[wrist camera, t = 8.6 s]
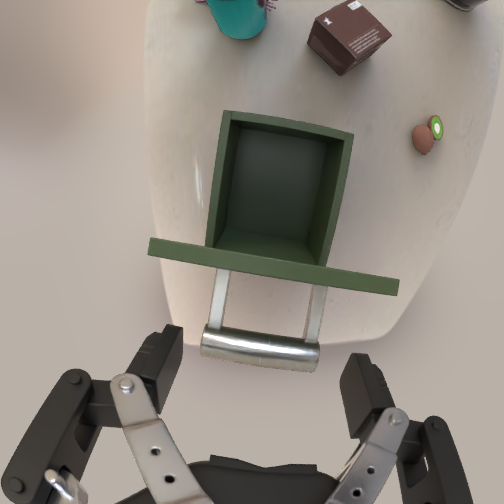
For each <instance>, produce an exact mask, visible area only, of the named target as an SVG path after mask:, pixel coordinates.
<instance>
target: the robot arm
mask: <svg viewBox="0 0 504 504" xmlns="http://www.w3.org/2000/svg"><path fill="white" fill-rule="evenodd" d="M446 1H447V2H448V3H449V4H451V5H452V6H454V7H456V8H458V9H460V10H463V11H470V10H472V9H473V8H474V7H476V6H478V5H479V4H482V3H483V2H485V1H487V0H446ZM182 354H183V327H179V326H174V325H170V324H167V325H166V326H165V328H164V330H163V332H162V333H157V332H154V333H152V334H151V335H149V336H148V337H147V338H146V339H145V341H144V342H143V344H142V346H141V347H140V349H139V351H138V352H137V354H136V355H135V357H134V359H133V360H132V362H131V364H130V365H129V367H128V369H127V370H126V372H125V373H123V374H119V375H117V376H115V377H114V378H113V379H112V380H110V381H103V380H92V379H91V377H90V375H89V374H88V373H87V372H86V371H84V370H81V369H71V370H68V371H66V372H65V373H64V374H63V375H62V376H61V378H60V379H59V381H58V382H57V383H56V385H55V386H54V388H53V389H52V391H51V393H50V394H49V396H48V397H47V399H46V400H45V402H44V403H43V405H42V407H41V408H40V410H39V411H38V413H37V415H36V416H35V418H34V420H33V421H32V423H31V424H30V426H29V428H28V430H27V431H26V433H25V435H24V436H23V438H22V440H21V442H20V443H19V445H18V447H17V449H16V451H15V452H14V454H13V456H12V458H11V460H10V462H9V464H8V466H7V468H6V470H5V472H4V474H3V476H2V478H1V487H2V490H3V492H4V494H5V496H6V497H7V498H8V499H9V500H10V501H12V502H14V503H15V504H87V503H88V494H87V491H86V490H85V488H84V487H83V486H82V485H81V484H80V480H81V477H82V475H83V472H84V470H85V467H86V465H87V462H88V460H89V457H90V455H91V453H92V450H93V448H94V445H95V443H96V441H97V438H98V436H99V434H100V431H101V429H102V427H103V426H104V427H105V426H106V427H117V428H123V431H124V434H125V437H126V439H127V442H128V444H129V447H130V449H131V452H132V454H133V457H134V459H135V462H136V464H137V466H138V468H139V471H140V473H141V475H142V477H143V480H144V482H145V483H146V486H147V487H146V488H145V489H142V490H141V491H139V492H137V493H135V494H133V495H131V496H130V497H128V498H125V499H124V500H122V501H119V502H117V503H115V504H373V503H374V502H375V500H376V498H377V496H378V495H379V493H380V492H381V490H382V488H383V486H384V484H385V482H386V481H387V479H388V477H389V475H390V473H391V471H392V469H393V467H394V465H395V463H396V467H397V472H398V477H399V482H400V488H401V494H402V501H403V504H473V500H472V497H471V493H470V489H469V486H468V482H467V479H466V476H465V473H464V470H463V466H462V463H461V461H460V458H459V455H458V452H457V449H456V446H455V444H454V441H453V438H452V436H451V433H450V430H449V428H448V425H447V423H446V422H445V421H444V420H443V419H442V418H440V417H438V416H430V417H428V418H427V419H426V420H425V421H424V422H418V421H413V420H409V418H408V416H407V414H406V413H405V412H404V411H403V410H401V409H399V408H396V407H395V404H394V401H393V399H392V397H391V393H390V391H389V388H388V387H387V383H386V381H385V378H384V376H383V373H382V371H381V370H380V369H379V368H378V367H377V366H376V365H375V364H372V363H371V361H370V358H369V356H368V354H362V353H352V354H351V355H350V358H349V360H348V362H347V364H346V366H345V369H344V371H343V372H342V375H341V378H340V390H341V395H342V399H343V404H344V407H345V413H346V418H347V422H348V428H349V432H350V438H351V439H355V438H356V439H357V438H359V439H360V443H359V444H358V445H357V447H356V448H355V450H354V452H353V453H352V455H351V456H350V457H349V459H348V460H347V462H346V463H345V465H344V466H343V467H342V469H341V470H340V471H339V473H338V474H337V475H336V476H335V477H334V478H333V477H331V476H329V475H327V474H325V473H322V472H319V471H317V465H316V464H315V465H314V464H313V465H312V464H288V465H282V466H275V467H267V468H264V467H260V466H257V465H253V464H251V463H248V462H245V461H241V460H239V459H233V458H228V457H222V456H216V455H211V456H210V461H199V462H194V463H190V464H186V462H185V460H184V459H183V457H182V455H181V453H180V452H179V450H178V448H177V446H176V444H175V442H174V440H173V439H172V437H171V435H170V433H169V431H168V429H167V427H166V425H165V423H164V421H163V420H162V419H160V418H159V417H158V415H157V414H161V412H162V409H163V406H164V404H165V401H166V399H167V396H168V394H169V391H170V389H171V386H172V384H173V381H174V378H175V376H176V374H177V371H178V369H179V366H180V364H181V360H182ZM424 457H426V460H427V464H428V471H427V467H426V464H425V460H424Z"/></svg>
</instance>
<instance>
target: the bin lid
mask: <svg viewBox="0 0 504 504" xmlns="http://www.w3.org/2000/svg"><path fill="white" fill-rule="evenodd" d="M148 255H150V256H156V257H160V258H166V259H171V260H176V261H182V262H187V263H193V264H198V265H204V266H209V267H215V268H217V271H216V277H215V283H214V289H213V295H212V301H211V308H210V314H209V320H208V323H207V324H206V325H205V327H204V330H203V334H202V339H201V345H200V355H201V356H203V357H208V358H213V359H219V360H223V361H229V362H235V363H241V364H247V365H254V366H261V367H267V368H275V369H283V370H291V371H301V372H314V371H315V369H316V367H317V365H318V361H319V356H320V345H319V342H318V341H317V340H318V335H319V331H320V326H321V321H322V316H323V310H324V305H325V300H326V294H327V288H328V286H330V287H336V288H343V289H350V290H356V291H363V292H370V293H377V294H384V295H391V296H397V293H398V287H399V279H394V278H388V277H382V276H376V275H370V274H364V273H358V272H352V271H346V270H340V269H334V268H328V267H322V266H316V265H310V264H304V263H298V262H292V261H286V260H281V259H275V258H269V257H263V256H257V255H251V254H245V253H239V252H233V251H228V250H222V249H216V248H210V247H204V246H198V245H193V244H187V243H181V242H175V241H169V240H163V239H158V238H150V243H149V248H148ZM231 270H232V271H238V272H244V273H249V274H255V275H261V276H267V277H273V278H279V279H285V280H292V281H298V282H304V283H310V284H312V290H311V296H310V301H309V307H308V312H307V317H306V322H305V327H304V332H303V337H302V338H295V337H287V336H280V335H273V334H267V333H260V332H254V331H248V330H242V329H236V328H230V327H225V326H222V325H223V319H224V312H225V306H226V300H227V294H228V288H229V282H230V276H231Z"/></svg>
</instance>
